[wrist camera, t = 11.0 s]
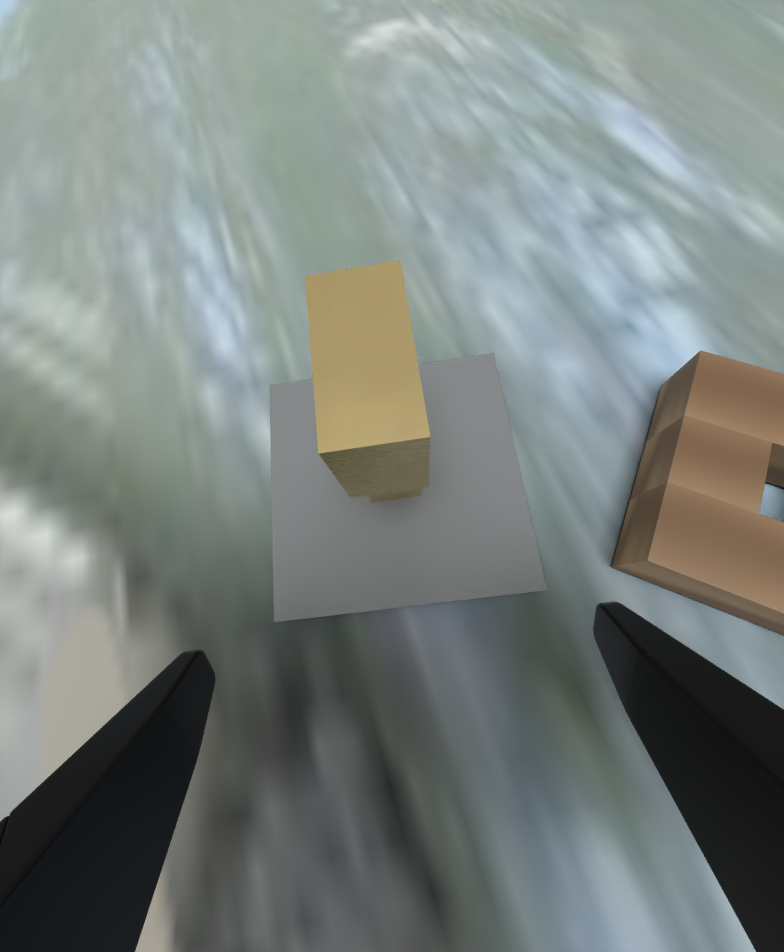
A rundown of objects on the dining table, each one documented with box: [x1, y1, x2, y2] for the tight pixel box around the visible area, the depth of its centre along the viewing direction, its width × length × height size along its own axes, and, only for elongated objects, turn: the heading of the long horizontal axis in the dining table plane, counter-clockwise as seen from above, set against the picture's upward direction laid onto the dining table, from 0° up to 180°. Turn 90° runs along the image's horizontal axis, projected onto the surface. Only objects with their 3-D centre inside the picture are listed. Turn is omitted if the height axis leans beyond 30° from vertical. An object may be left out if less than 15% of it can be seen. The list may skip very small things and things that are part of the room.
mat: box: [270, 353, 547, 622], centre depth 19 cm, size 12×12×1 cm
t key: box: [305, 260, 431, 503], centre depth 14 cm, size 5×2×10 cm, turn 7°
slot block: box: [612, 351, 784, 635], centre depth 17 cm, size 10×10×3 cm
